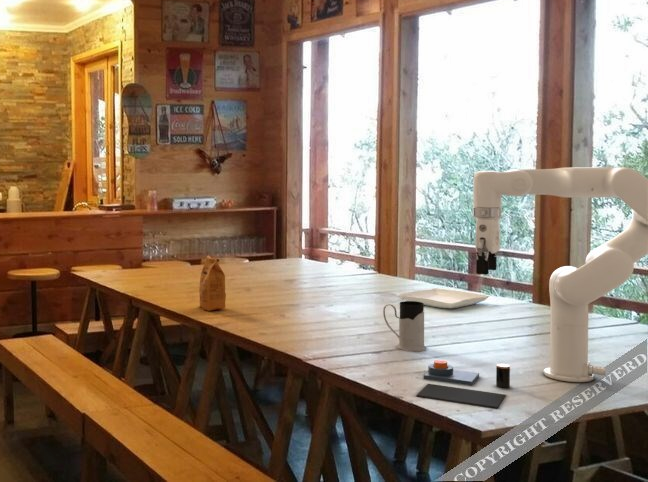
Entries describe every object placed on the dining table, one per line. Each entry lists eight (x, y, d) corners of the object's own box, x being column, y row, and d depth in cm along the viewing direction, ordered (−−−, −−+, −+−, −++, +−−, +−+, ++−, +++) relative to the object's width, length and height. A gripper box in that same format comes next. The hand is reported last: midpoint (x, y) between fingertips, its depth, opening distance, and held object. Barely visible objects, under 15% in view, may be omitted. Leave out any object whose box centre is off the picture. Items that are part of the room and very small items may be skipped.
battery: (510, 386, 217) (510, 364, 217) (508, 389, 215) (508, 367, 214) (497, 384, 219) (497, 363, 219) (495, 387, 216) (495, 366, 216)
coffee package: (218, 304, 342) (217, 254, 341) (228, 310, 330) (227, 258, 329) (196, 306, 339) (195, 255, 338) (205, 311, 327) (204, 259, 326)
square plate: (490, 303, 333) (490, 294, 333) (451, 312, 317) (451, 302, 317) (435, 295, 355) (435, 286, 355) (395, 302, 340) (395, 293, 340)
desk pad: (505, 396, 209) (505, 394, 209) (497, 408, 199) (497, 407, 199) (428, 385, 220) (428, 383, 220) (416, 396, 210) (416, 394, 210)
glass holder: (419, 352, 255) (419, 306, 255) (377, 346, 265) (377, 301, 264) (429, 347, 262) (429, 302, 261) (389, 341, 271) (389, 298, 271)
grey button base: (479, 377, 227) (479, 366, 227) (471, 386, 219) (471, 375, 218) (432, 370, 234) (432, 361, 234) (423, 379, 226) (423, 368, 226)
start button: (448, 367, 228) (448, 361, 228) (445, 370, 225) (445, 363, 225) (435, 365, 230) (435, 359, 230) (432, 368, 227) (432, 362, 227)
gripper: (494, 216, 220) (493, 277, 221) (507, 211, 234) (506, 269, 235) (465, 215, 224) (465, 274, 225) (480, 211, 238) (480, 267, 239)
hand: (486, 271), depth 230 cm, fingers open, 9 cm apart
